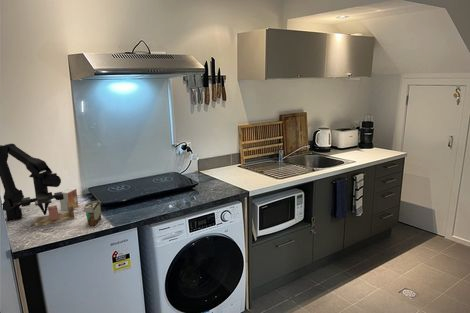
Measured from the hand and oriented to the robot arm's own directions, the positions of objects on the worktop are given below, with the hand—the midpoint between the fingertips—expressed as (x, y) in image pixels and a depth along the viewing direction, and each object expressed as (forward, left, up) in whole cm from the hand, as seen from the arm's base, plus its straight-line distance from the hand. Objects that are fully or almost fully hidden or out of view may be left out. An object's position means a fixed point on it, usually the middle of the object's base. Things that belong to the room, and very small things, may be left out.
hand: (45, 214), depth 176 cm
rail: (+4, 0, -4) cm, 6 cm away
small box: (+13, +15, -4) cm, 20 cm away
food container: (+20, -15, -4) cm, 25 cm away
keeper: (+4, 0, -3) cm, 5 cm away
